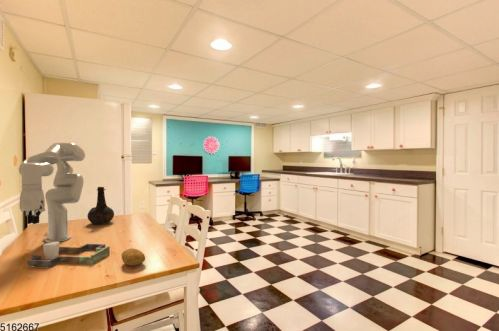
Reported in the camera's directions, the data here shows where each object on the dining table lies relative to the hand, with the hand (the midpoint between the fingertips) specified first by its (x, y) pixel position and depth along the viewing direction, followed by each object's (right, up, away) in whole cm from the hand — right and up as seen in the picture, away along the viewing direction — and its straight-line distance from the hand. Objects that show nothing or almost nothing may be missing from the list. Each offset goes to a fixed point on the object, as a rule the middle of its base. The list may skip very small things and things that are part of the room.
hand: (33, 223), depth 133 cm
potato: (+55, -18, -9) cm, 58 cm away
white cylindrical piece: (+9, -17, 0) cm, 20 cm away
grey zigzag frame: (+20, -17, -1) cm, 27 cm away
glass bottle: (-3, -15, +66) cm, 68 cm away
